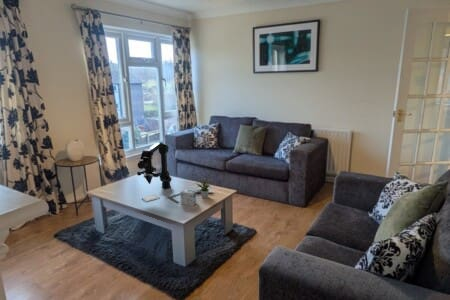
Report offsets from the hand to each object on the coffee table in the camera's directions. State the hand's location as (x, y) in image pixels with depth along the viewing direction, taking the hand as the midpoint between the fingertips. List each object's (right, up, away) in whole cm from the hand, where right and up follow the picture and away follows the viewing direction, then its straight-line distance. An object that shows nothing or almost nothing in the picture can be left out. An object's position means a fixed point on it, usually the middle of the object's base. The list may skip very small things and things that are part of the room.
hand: (149, 183), depth 239 cm
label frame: (+24, -13, +2) cm, 27 cm away
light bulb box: (+33, -15, -7) cm, 37 cm away
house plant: (+45, -11, +6) cm, 47 cm away
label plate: (0, -13, +3) cm, 13 cm away
